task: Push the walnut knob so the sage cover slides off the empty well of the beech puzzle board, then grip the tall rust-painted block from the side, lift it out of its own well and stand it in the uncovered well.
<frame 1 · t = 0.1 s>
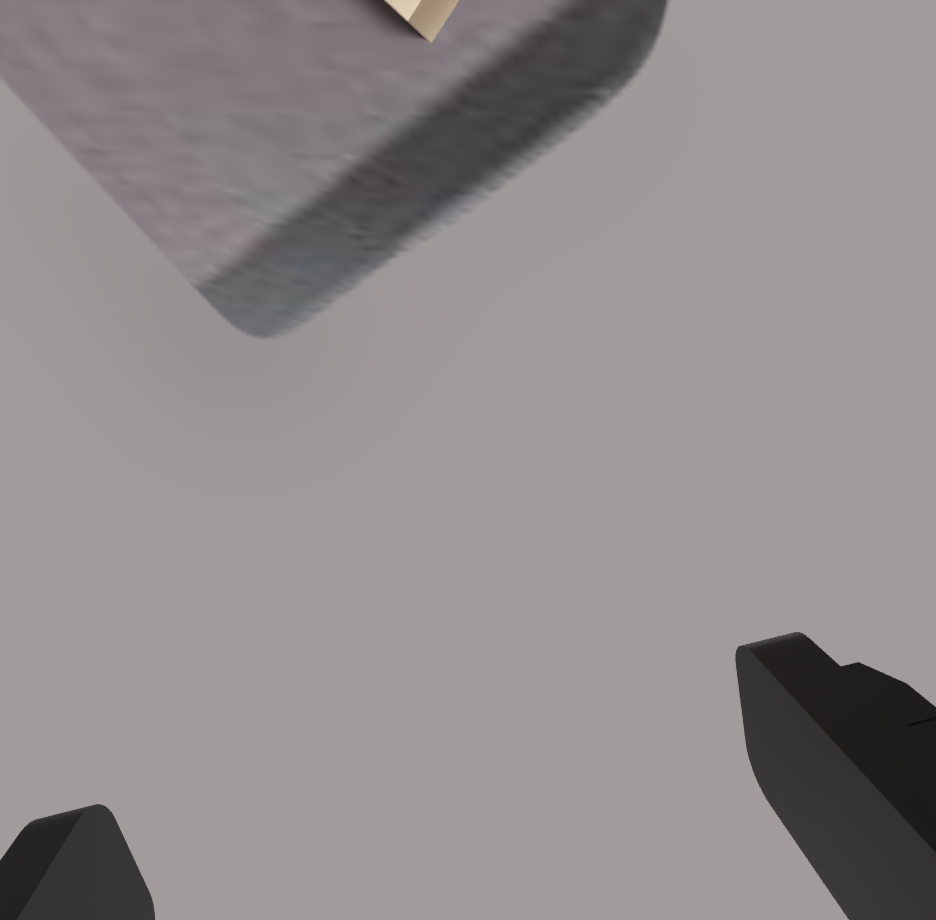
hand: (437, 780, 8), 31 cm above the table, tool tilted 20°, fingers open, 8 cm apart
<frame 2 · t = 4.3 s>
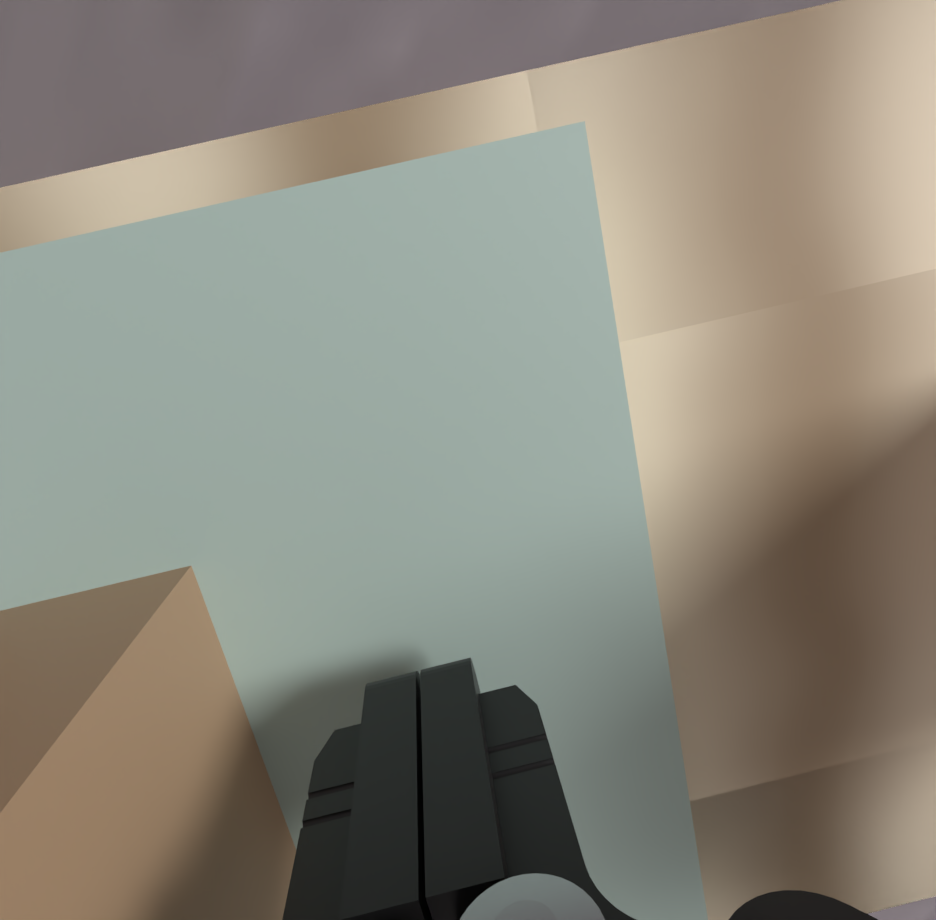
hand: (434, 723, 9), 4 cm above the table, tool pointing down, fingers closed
cover: (356, 813, 8), point 5 cm above the table, slide at 0.4 cm, touching gripper
puzzle board: (565, 564, 13), on the table
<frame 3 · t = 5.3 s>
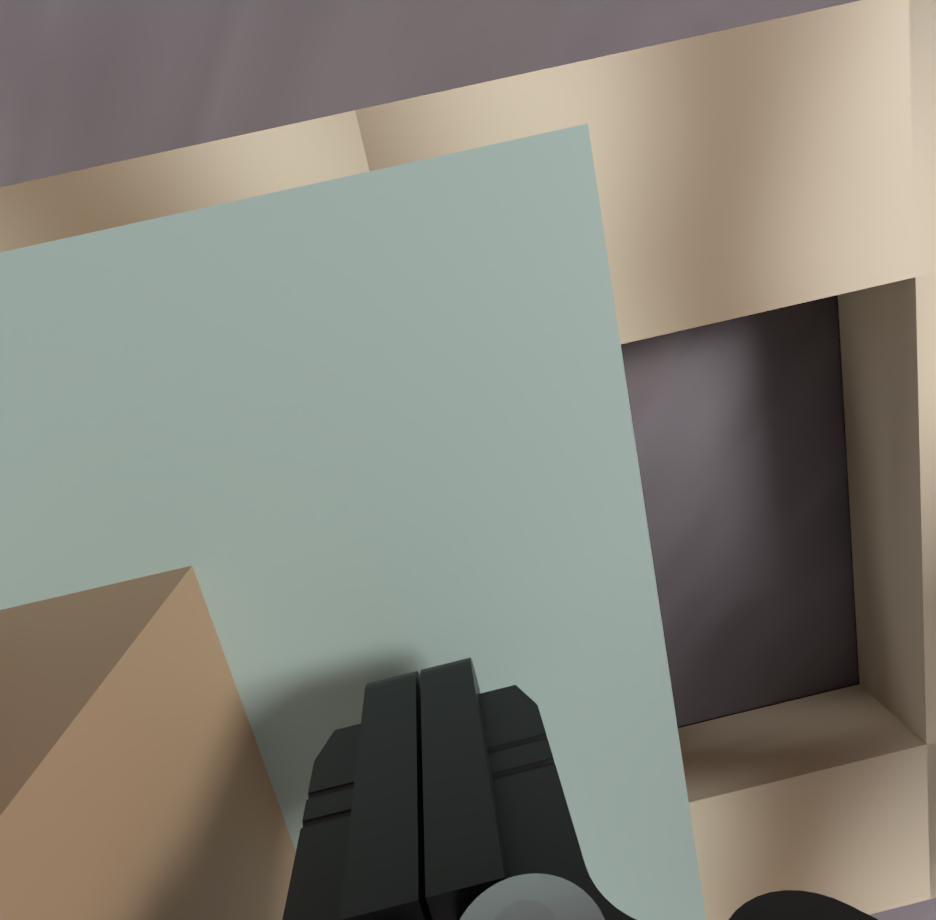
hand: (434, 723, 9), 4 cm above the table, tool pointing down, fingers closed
cover: (356, 814, 8), point 5 cm above the table, slide at 5.9 cm, touching gripper
puzzle board: (825, 504, 14), on the table
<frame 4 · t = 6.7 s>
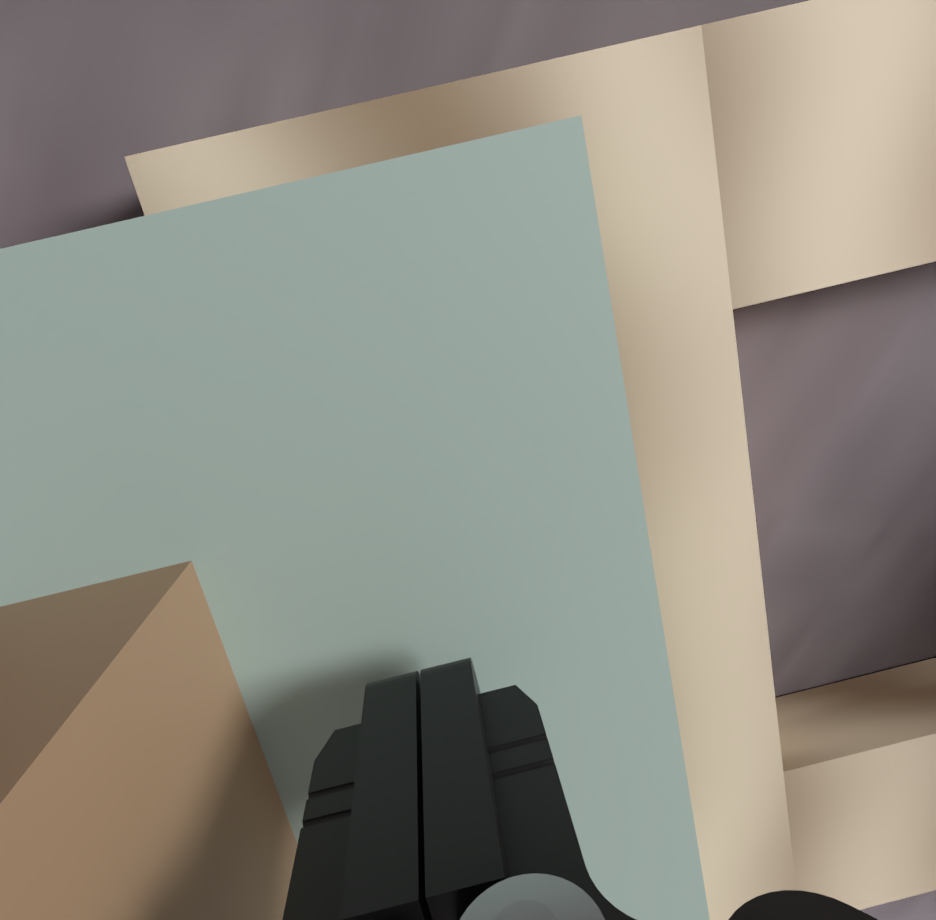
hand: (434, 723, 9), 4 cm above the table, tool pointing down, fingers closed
cover: (357, 806, 8), point 5 cm above the table, slide at 11.0 cm, touching gripper
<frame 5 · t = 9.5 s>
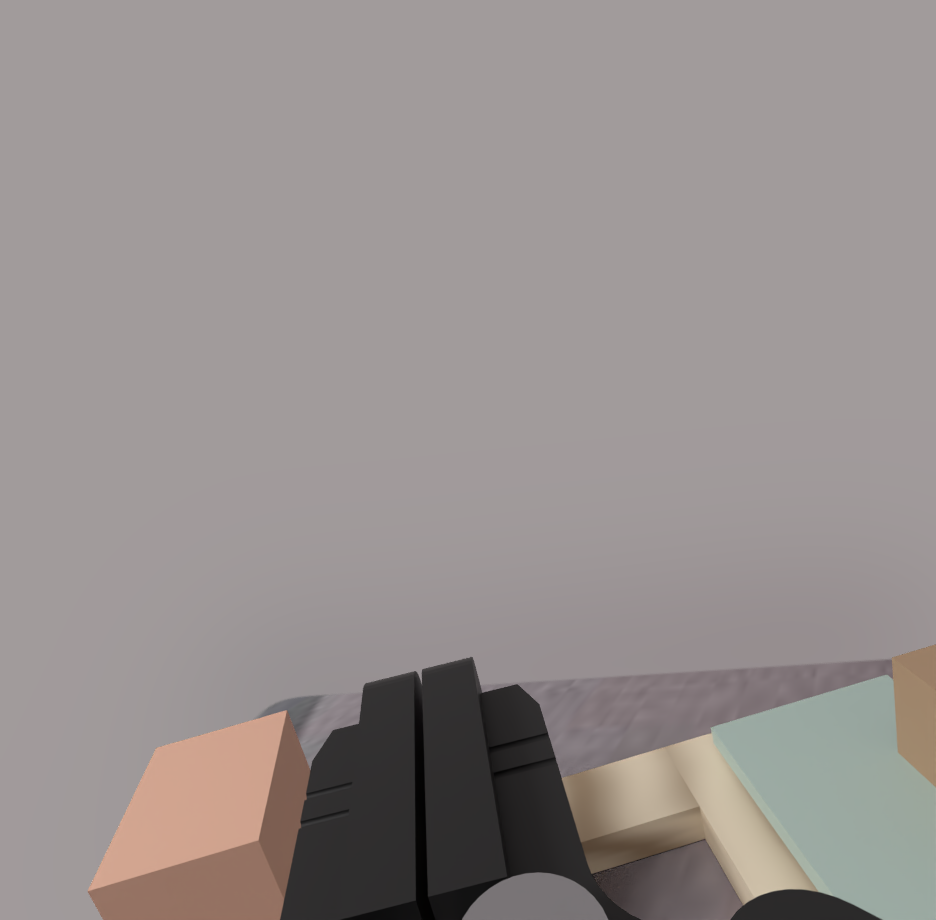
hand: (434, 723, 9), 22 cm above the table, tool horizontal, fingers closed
cover: (911, 777, 26), point 5 cm above the table, slide at 11.0 cm
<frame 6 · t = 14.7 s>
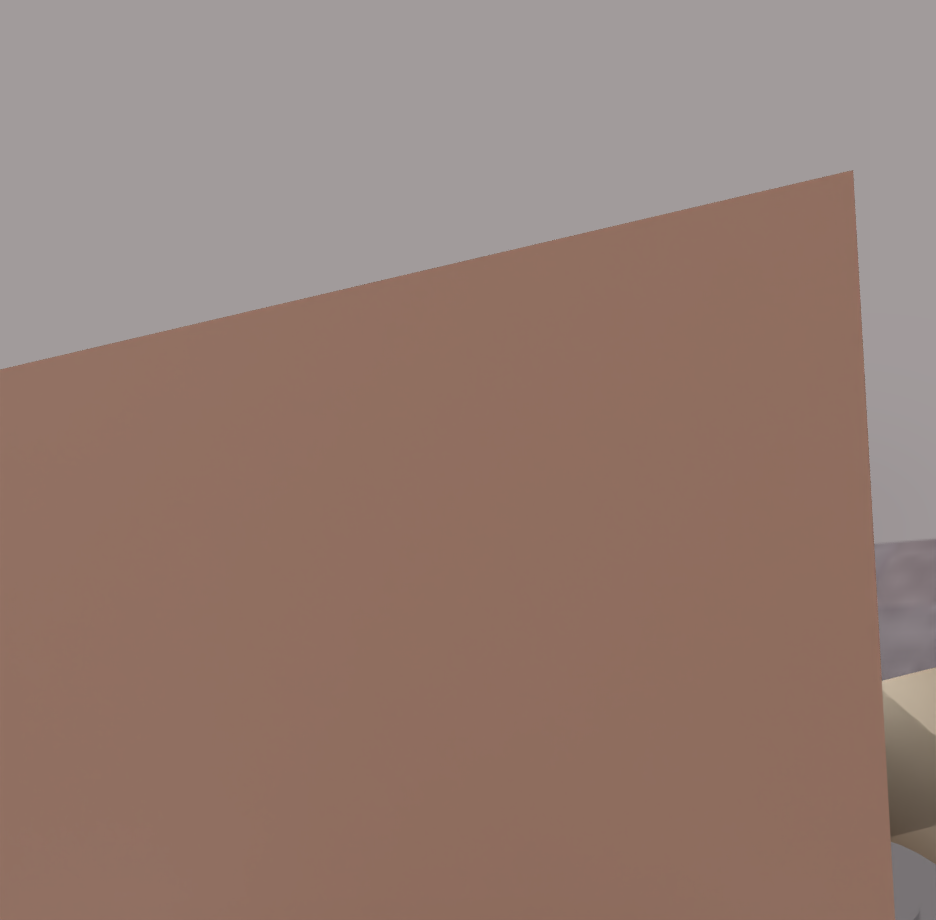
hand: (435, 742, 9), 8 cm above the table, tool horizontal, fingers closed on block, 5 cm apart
when the fingers open (9 cm above the table, at t = 20.1 s): block drops 1 cm, resting in puzzle board.
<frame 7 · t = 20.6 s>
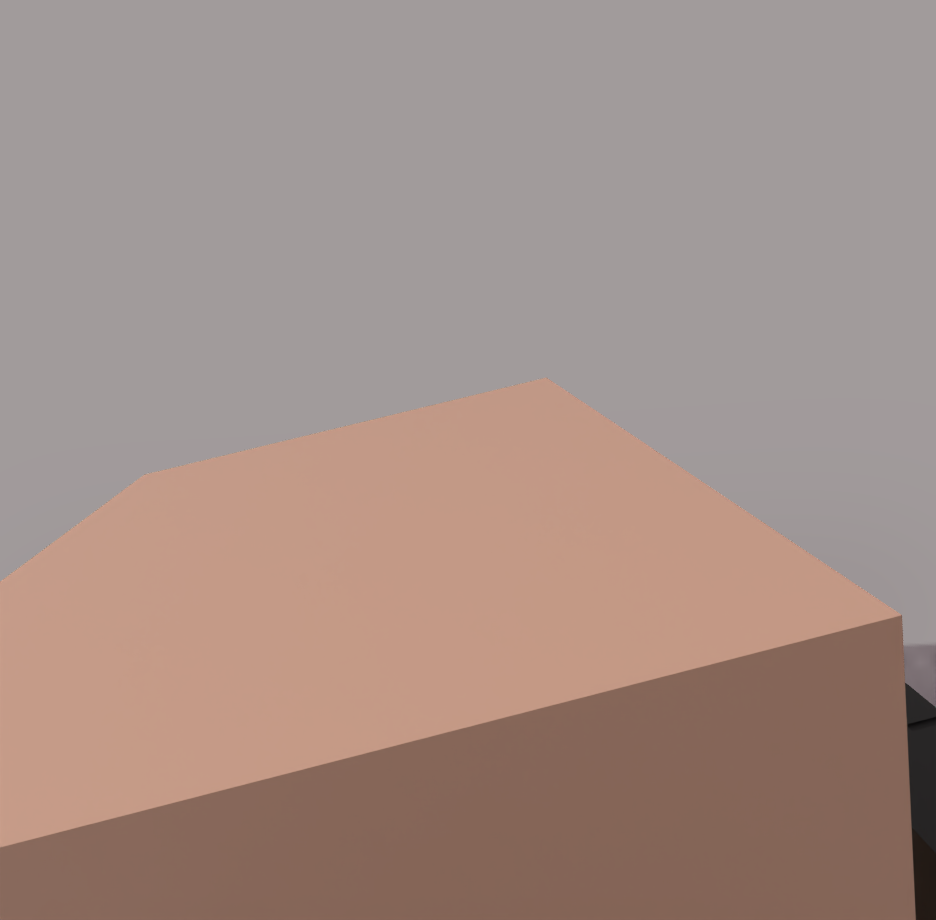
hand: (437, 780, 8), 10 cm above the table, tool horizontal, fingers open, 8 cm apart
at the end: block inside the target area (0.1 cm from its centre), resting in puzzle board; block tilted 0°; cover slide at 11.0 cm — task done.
